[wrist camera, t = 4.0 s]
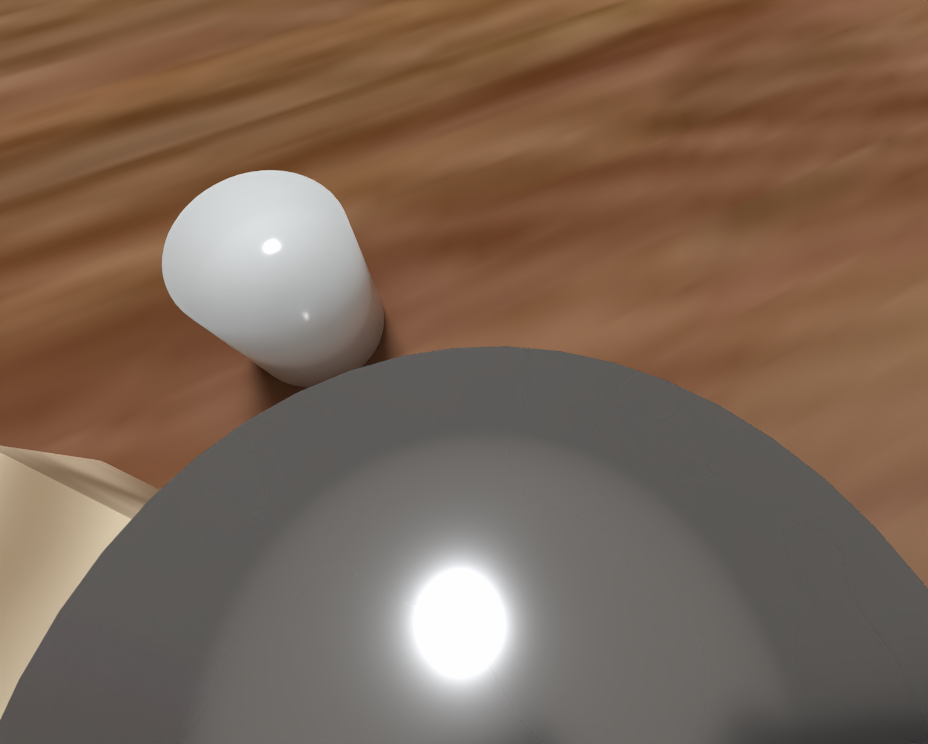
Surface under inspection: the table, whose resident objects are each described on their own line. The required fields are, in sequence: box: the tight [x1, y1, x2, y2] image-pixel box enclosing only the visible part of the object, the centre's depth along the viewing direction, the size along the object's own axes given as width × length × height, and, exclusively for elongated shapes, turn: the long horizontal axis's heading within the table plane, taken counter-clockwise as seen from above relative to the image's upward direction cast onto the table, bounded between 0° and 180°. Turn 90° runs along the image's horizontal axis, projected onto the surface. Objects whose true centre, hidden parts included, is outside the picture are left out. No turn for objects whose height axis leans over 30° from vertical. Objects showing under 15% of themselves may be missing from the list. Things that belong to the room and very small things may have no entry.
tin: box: [0, 346, 928, 744], centre depth 8 cm, size 6×6×12 cm
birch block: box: [0, 446, 160, 719], centre depth 12 cm, size 5×5×4 cm
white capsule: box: [162, 170, 384, 387], centre depth 14 cm, size 5×5×5 cm
